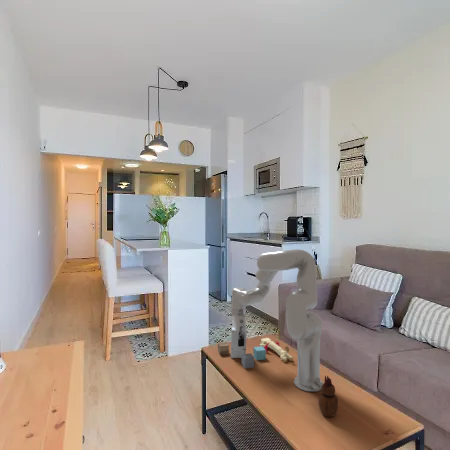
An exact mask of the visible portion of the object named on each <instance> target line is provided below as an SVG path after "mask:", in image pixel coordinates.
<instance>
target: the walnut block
mask: <svg viewBox="0 0 450 450" xmlns="http://www.w3.org/2000/svg"><path fill="white" fill-rule="evenodd" d="M218 352H219V353H218ZM217 353H218V354H219V355H220V356H226V355H225V354H227V355H229V354H230V345H229V343H228V342H227V341H222V342H217Z"/></svg>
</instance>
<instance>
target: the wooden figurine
mask: <svg viewBox="0 0 450 450" xmlns="http://www.w3.org/2000/svg"><path fill="white" fill-rule="evenodd" d="M332 383H333V382H332V379H331V378H330V377H329V375H327V376H326V375H324V382H323V385H322V387H321V390H320V391H321V394H320V395H319V397H318V408H319V411H320V412H321V414H322V415H323V416H324V417H326V418H332V417H334V416H336V414H337V411H338V407H339V401H338V396H337V395H336V387H335V385H334V384H332Z"/></svg>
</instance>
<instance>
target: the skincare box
mask: <svg viewBox="0 0 450 450" xmlns="http://www.w3.org/2000/svg"><path fill="white" fill-rule="evenodd" d="M247 332H248V331H247V327H246V333H245V334H244V336H245V337H244V346H241V347H239V346H238V339H239V337H238V334H237V333H236V330H235V329H234V328H233V326H231V334H230V335H231V339H230V340H231V341H230V342H231V343H230V358H231V359H242V354H247V353H246V352H247ZM239 333H241V332H239ZM240 336H241V335H240Z"/></svg>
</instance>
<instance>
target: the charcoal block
mask: <svg viewBox="0 0 450 450" xmlns="http://www.w3.org/2000/svg"><path fill="white" fill-rule="evenodd" d="M241 365H242V367H243V368H244V369H253V368H255V358H254V356H253V354H252V353H246V354H242V358H241Z"/></svg>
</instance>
